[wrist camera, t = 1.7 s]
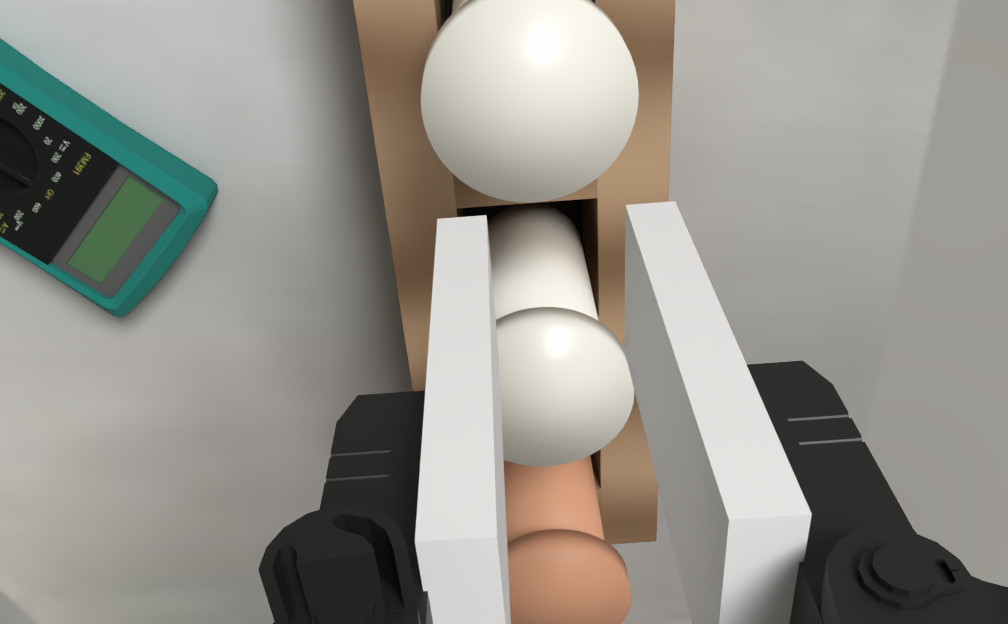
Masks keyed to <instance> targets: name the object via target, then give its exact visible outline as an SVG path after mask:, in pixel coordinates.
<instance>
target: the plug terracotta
mask: <svg viewBox="0 0 1008 624" xmlns="http://www.w3.org/2000/svg"><path fill="white" fill-rule="evenodd" d="M504 483H505V505H506V528H507V550H508V573H509V595H510V617H511V624H621V623H622V622H623V620H624V619H625V618H626V616H627V614H628V612H629V609H630V605H631V591H630V586H629V580H628V575H627V570H626V566H625V563H624V561H623V559H622V557H621V556H620V554H619V553H618V551H617V550H616V549H614V548H613V547H612V546H611V545H610V544H608V543H607V542H606V541H604V535H603V529H602V523H601V516H600V510H599V504H598V498H597V492H596V486H595V480H594V474H593V468H592V462H591V456H590V455H589V456H587V457H585V458H583V459H580V460H577V461H574V462H571V463H567V464H562V465H555V466H526V465H521V464H516V463H512V462H509V461H506V460H504Z"/></svg>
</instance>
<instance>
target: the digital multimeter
mask: <svg viewBox="0 0 1008 624" xmlns="http://www.w3.org/2000/svg"><path fill="white" fill-rule="evenodd" d="M0 84H1V85H0V243H1V244H3V245H4V246H6V247H8V248H9V249H11V250H13V251H14V252H16V253H18V254H19V255H21V256H22V257H24V258H26V259H27V260H29V261H30V262H32V263H33V264H35V265H36V266H38V267H40V268H41V269H43V270H44V271H46V272H47V273H49V274H50V275H52V276H53V277H55V278H56V279H58V280H59V281H61V282H62V283H64V284H66V285H67V286H69V287H70V288H72V289H73V290H75V291H76V292H78V293H79V294H81V295H82V296H84V297H85V298H87V299H88V300H90V301H92V302H93V303H95V304H96V305H98V306H99V307H101V308H102V309H104V310H105V311H107V312H108V313H110V314H111V315H114V316H117V317H121V316H125V315H127V314H128V313H129V312H130V311H131V310H132V309H133V308H134V307H135V306H136V305H137V304H138V303H139V302H140V301H141V300H142V299H143V298H144V297H145V296H146V295H147V293H148V292H149V291H150V290H151V289H152V288H153V287H154V286H155V284H156V283H157V282H158V281H159V280H160V279H161V278H162V276H163V275H164V274H165V273H166V271H167V270H168V269H169V267H170V266H171V265H172V264H173V262H174V261H175V260H176V258H177V257H178V256H179V254H180V253H181V251H182V250H183V248H184V247H185V245H186V244H187V242H188V241H189V239H190V238H191V236H192V235H193V233H194V232H195V230H196V228H197V227H198V225H199V224H200V222H201V220H202V219H203V217H204V216H205V214H206V212H207V211H208V209H209V207H210V205H211V204H212V202H213V200H214V198H215V197H216V195H217V192H218V188H217V184H216V183H215V182H214V181H213V180H212V179H211V178H209V177H208V176H206V175H205V174H203V173H201V172H200V171H198V170H197V169H195V168H193V167H192V166H190V165H189V164H187V163H185V162H184V161H182V160H181V159H179V158H178V157H176V156H174V155H173V154H171V153H170V152H168V151H166V150H165V149H163V148H162V147H160V146H158V145H157V144H155V143H154V142H152V141H151V140H149V139H147V138H146V137H144V136H143V135H141V134H139V133H138V132H136V131H135V130H133V129H131V128H130V127H128V126H127V125H125V124H123V123H122V122H120V121H119V120H117V119H116V118H114V117H113V116H112V115H110V114H109V113H107V112H106V111H104V110H103V109H101V108H100V107H98V106H97V105H95V104H94V103H92V102H91V101H89V100H88V99H86V98H85V97H83V96H82V95H80V94H79V93H77V92H76V91H74V90H73V89H71V88H70V87H68V86H67V85H65V84H64V83H62V82H61V81H59V80H58V79H56V78H55V77H53V76H52V75H50V74H49V73H47V72H46V71H45V70H43V69H42V68H40V67H39V66H38V65H36V64H35V63H33V62H32V61H31V60H29V59H28V58H27V57H25V56H24V55H22V54H21V53H20V52H18V51H17V50H16V49H14V48H13V47H11V46H10V45H9V44H7V43H6V42H5V41H3V40H2V39H0ZM2 85H3V86H4V87H3V86H2ZM5 87H6V88H7V89H6V88H5ZM8 89H9V90H10V91H9V90H8ZM11 91H12V92H13V93H12V92H11ZM14 93H15V94H16V95H15V94H14ZM17 95H18V96H19V97H18V96H17ZM20 97H21V98H22V99H21V98H20ZM23 99H24V100H25V101H24V100H23ZM26 101H27V102H28V103H27V102H26ZM29 103H30V104H31V105H30V104H29ZM32 105H33V106H34V107H33V106H32ZM35 107H36V108H37V109H36V108H35ZM38 109H39V110H40V111H39V110H38ZM41 111H42V112H43V113H42V112H41ZM44 113H45V114H46V115H45V114H44ZM47 115H48V116H49V117H48V116H47ZM50 117H51V118H52V119H51V118H50ZM53 119H54V120H55V121H54V120H53ZM56 121H57V122H58V123H57V122H56ZM59 123H60V124H61V125H60V124H59ZM62 125H63V126H64V127H63V126H62ZM65 127H66V128H67V129H66V128H65ZM68 129H69V130H70V131H69V130H68ZM71 131H72V132H73V133H72V132H71ZM74 133H75V134H76V135H75V134H74ZM77 135H78V136H79V137H78V136H77ZM80 137H81V138H82V139H81V138H80ZM83 139H84V140H85V141H84V140H83ZM86 141H87V142H88V143H87V142H86ZM89 143H90V144H91V145H90V144H89ZM92 145H93V146H94V147H93V146H92ZM95 147H96V148H97V149H96V148H95ZM98 149H99V150H100V151H99V150H98ZM102 152H103V153H102ZM105 154H106V155H105ZM108 156H109V157H108ZM111 158H112V159H111ZM114 160H115V161H114ZM117 162H118V163H117ZM14 201H15V202H14ZM7 202H9V203H7ZM178 212H179V213H178ZM175 216H176V217H175Z"/></svg>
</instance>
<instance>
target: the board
mask: <svg viewBox="0 0 1008 624" xmlns="http://www.w3.org/2000/svg"><path fill="white" fill-rule="evenodd" d="M591 1H592V2H594V3H595V4H596V5H597V6H599V7H600V8H601V9H602V10H603V11H604V12H605V13H606V14H607V15H608V17H609V18H610V19H611V20H612V22H613V23H614V24H615V26H616V27H617V29H618V30H619V32H620V34H621V36H622V38H623V40H624V42H625V44H626V46H627V48H628V50H629V52H630V54H631V57H632V60H633V63H634V66H635V69H636V74H637V79H638V92H639V98H638V110H637V114H636V119H635V123H634V126H633V129H632V132H631V134H630V137H629V139H628V141H627V143H626V145H625V146H624V148H623V150H622V151H621V153H620V154H619V156H618V157H617V159H616V160H615V161H614V162H613V163H612V164H611V165H610V167H609V168H608V169H607V170H606V171H605V172H604V173H602V174H601V175H600V176H599V177H598V178H597V179H595V180H594V181H592V182H591V183H590V184H588V185H587V186H585V187H583V188H581V189H579V190H577V191H576V192H574V193H571V194H568V195H566V196H563V197H560V198H556V199H552V200H549V201H541V202H550V201H564V200H577V199H582V237H583V242H582V247H583V252H584V256H585V261H586V265H587V270H588V275H589V279H590V284H591V288H592V293H593V297H594V302H595V307H596V311H597V316H598V320H599V322H601V323H602V324H604V325H605V326H606V327H607V328H608V329H609V330H611V331H612V332H613V334H614V335H615V336H616V337H617V338H618V340H619V341H620V343H621V345H622V346H623V348H624V338H625V205H630V204H644V203H657V202H668V193H669V165H670V136H671V108H672V80H673V52H674V23H675V0H591ZM353 4H354V11H355V17H356V24H357V30H358V37H359V43H360V50H361V56H362V63H363V69H364V76H365V82H366V89H367V95H368V102H369V108H370V115H371V121H372V128H373V134H374V141H375V147H376V154H377V160H378V167H379V173H380V180H381V186H382V193H383V199H384V206H385V213H386V219H387V226H388V232H389V239H390V245H391V252H392V258H393V265H394V271H395V278H396V284H397V291H398V297H399V304H400V310H401V317H402V323H403V330H404V336H405V343H406V349H407V356H408V362H409V369H410V375H411V382H412V388H413V391H425V388H426V374H427V359H428V345H429V331H430V317H431V302H432V288H433V274H434V259H435V245H436V231H437V219H441V218H455V217H466V216H465V208H469V207H483V206H496V205H510V204H523V203H537V202H512V201H506V200H502V199H497V198H494V197H491V196H488V195H486V194H483V193H481V192H479V191H477V190H475V189H473V188H471V187H470V186H468V185H467V184H465V183H464V182H462V181H461V180H460V179H458V178H457V177H456V176H455V175H454V174H453V173H452V172H450V170H449V169H448V168H447V167H446V166H445V165H444V164H443V162H442V161H441V160H440V158H439V157H438V155H437V154H436V152H435V151H434V149H433V147H432V145H431V143H430V141H429V139H428V136H427V133H426V130H425V127H424V123H423V117H422V112H421V89H422V80H423V73H424V67H425V63H426V58H427V55H428V53H429V50H430V47H431V44H432V43H433V41H434V39H435V37H436V35H437V33H438V31H439V30H440V29H441V27H442V26H443V24H444V23H445V22H446V16H445V6H444V0H353ZM590 456H591V462H592V468H593V474H594V480H595V486H596V492H597V498H598V504H599V510H600V516H601V523H602V529H603V535H604V541H606V542H607V543H608V544H622V543H636V542H651V541H656V531H657V503H658V483H657V479H656V475H655V471H654V467H653V463H652V459H651V455H650V451H649V447H648V443H647V439H646V435H645V431H644V427H643V423H642V419H641V415H640V411H639V407H638V403H637V399H636V395H635V391H634V402H633V406H632V410H631V413H630V415H629V418H628V420H627V422H626V423H625V425H624V427H623V428H622V430H621V431H620V432H619V433H618V434H617V436H616V437H615V438H614V439H613V440H611V441H610V442H609V443H608V444H607V445H606V446H604V447H603V448H601V449H600V450H598V451H597V452H595V453H593V454H591V455H590Z"/></svg>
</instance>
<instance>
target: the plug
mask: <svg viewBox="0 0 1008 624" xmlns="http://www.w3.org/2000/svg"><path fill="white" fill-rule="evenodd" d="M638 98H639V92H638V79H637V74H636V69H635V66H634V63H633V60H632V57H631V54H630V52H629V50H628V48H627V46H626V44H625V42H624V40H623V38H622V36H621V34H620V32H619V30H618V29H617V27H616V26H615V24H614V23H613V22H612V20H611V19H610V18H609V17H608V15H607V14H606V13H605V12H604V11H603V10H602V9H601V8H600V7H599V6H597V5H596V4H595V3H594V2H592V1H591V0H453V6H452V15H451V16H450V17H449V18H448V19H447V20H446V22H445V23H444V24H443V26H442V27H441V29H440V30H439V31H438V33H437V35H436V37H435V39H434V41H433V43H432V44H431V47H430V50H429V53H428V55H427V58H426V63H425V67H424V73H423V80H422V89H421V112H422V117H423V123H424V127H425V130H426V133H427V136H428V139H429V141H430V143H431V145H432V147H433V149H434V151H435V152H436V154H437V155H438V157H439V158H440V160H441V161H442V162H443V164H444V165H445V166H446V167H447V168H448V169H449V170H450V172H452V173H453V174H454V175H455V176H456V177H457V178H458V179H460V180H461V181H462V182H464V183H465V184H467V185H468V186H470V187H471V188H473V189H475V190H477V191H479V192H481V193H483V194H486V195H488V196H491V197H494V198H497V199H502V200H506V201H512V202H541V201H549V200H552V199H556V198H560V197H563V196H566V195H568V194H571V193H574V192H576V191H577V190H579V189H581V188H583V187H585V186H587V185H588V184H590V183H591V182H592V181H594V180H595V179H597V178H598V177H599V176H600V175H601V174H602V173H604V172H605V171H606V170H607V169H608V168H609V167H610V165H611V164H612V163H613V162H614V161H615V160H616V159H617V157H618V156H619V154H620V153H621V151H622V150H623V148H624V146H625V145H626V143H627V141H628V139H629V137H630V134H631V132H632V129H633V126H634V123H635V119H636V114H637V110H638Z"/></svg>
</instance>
